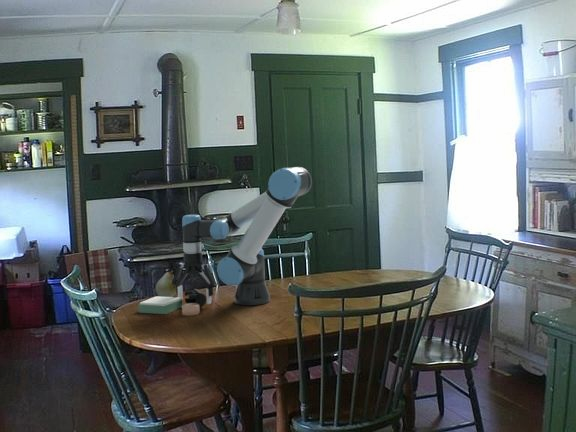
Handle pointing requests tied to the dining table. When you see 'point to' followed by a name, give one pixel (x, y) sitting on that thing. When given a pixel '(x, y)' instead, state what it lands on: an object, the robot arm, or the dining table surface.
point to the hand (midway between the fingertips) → (194, 302)
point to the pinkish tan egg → (190, 309)
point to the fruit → (166, 286)
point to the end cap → (195, 297)
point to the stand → (160, 305)
